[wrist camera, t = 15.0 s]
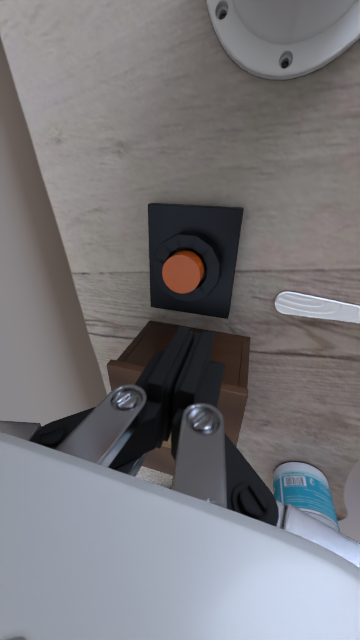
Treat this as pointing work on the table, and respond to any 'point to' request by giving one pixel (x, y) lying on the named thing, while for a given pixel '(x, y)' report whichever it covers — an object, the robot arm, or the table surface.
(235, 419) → the lid
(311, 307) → the spoon
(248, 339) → the tea box
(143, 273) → the table surface
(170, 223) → the switch block
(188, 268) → the button
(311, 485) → the pill bottle
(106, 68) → the table surface
